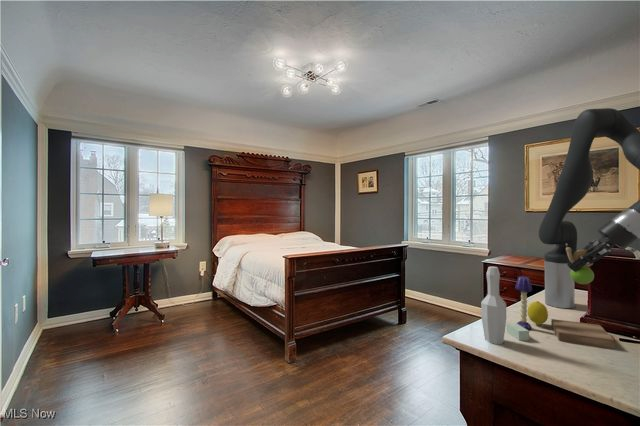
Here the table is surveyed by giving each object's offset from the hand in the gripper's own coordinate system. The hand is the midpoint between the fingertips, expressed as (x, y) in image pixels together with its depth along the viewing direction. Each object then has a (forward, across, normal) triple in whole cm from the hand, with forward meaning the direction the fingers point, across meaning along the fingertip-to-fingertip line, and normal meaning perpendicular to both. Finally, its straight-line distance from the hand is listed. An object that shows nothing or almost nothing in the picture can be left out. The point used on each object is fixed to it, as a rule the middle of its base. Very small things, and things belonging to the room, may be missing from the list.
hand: (570, 268), depth 92 cm
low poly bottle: (+29, +15, 0) cm, 32 cm away
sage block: (+25, +8, +5) cm, 26 cm away
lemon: (+20, -5, +9) cm, 23 cm away
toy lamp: (+23, 0, +6) cm, 24 cm away
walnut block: (+14, 0, +16) cm, 21 cm away
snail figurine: (+2, 0, +5) cm, 5 cm away
